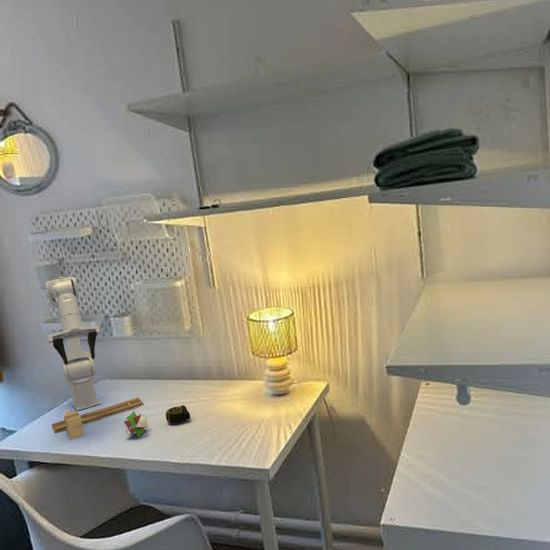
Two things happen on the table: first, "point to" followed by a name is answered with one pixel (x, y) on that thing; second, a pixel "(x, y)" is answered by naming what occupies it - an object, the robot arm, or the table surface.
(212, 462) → the table surface
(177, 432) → the table surface
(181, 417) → the tape measure
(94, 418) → the brown wooden flat strip
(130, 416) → the geometric puzzle
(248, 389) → the table surface
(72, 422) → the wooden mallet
